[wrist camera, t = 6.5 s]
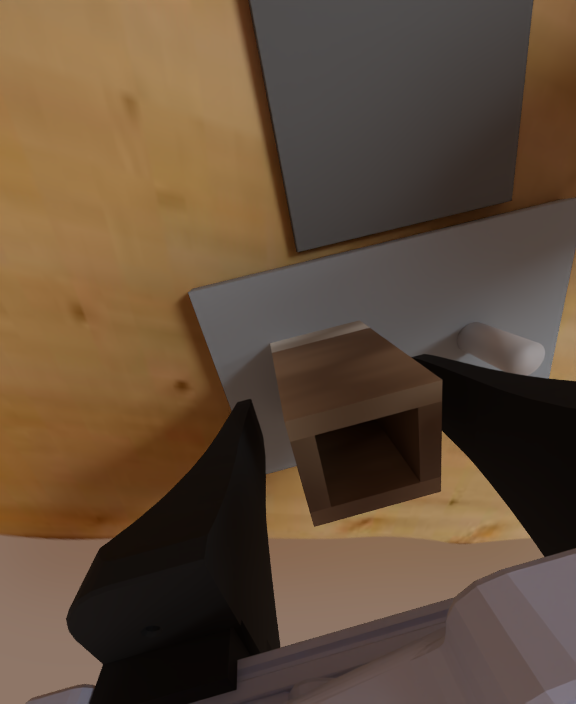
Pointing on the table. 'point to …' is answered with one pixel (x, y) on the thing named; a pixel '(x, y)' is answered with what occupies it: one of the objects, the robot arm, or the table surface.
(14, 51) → the table surface
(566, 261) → the pin board
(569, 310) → the table surface
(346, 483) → the sleeve
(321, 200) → the mat
